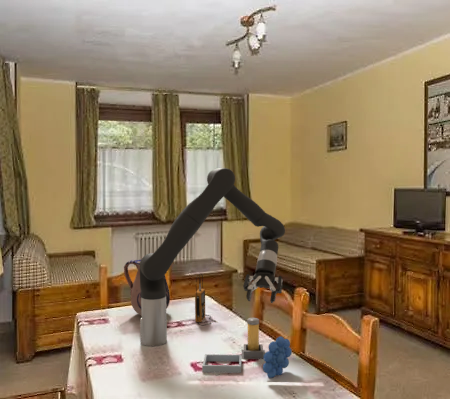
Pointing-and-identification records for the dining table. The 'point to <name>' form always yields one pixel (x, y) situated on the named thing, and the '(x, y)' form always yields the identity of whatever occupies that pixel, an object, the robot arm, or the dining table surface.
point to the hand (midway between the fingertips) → (260, 301)
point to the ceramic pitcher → (136, 287)
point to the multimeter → (200, 303)
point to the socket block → (253, 353)
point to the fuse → (253, 334)
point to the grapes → (277, 357)
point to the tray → (221, 367)
